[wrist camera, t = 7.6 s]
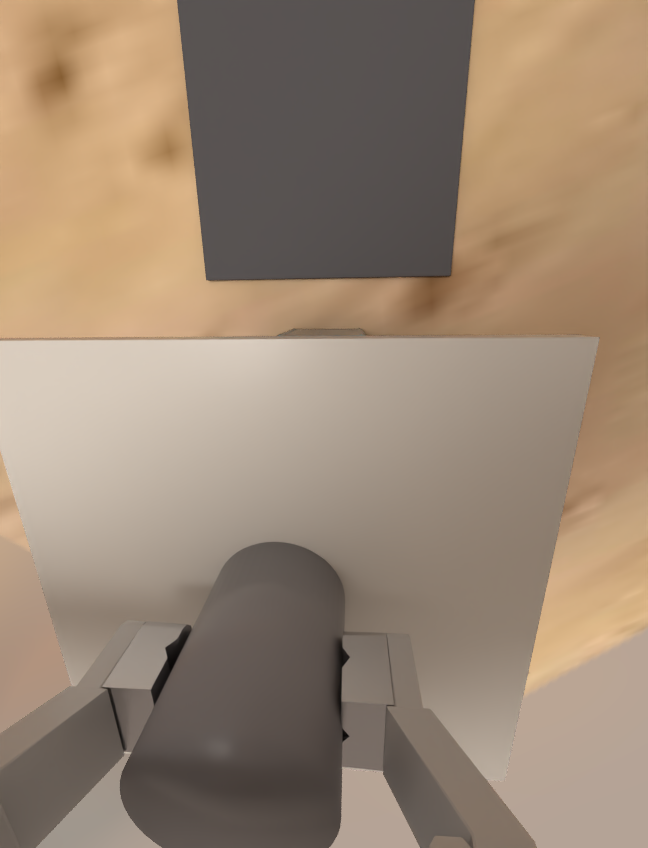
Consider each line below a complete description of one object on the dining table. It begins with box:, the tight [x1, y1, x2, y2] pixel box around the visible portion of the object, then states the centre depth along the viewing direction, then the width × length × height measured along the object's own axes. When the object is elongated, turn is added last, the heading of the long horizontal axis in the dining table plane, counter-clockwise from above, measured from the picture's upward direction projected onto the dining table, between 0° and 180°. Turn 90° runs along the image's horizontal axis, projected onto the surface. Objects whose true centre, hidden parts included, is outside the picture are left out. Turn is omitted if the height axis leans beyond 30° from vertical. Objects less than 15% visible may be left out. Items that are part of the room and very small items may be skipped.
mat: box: [177, 0, 475, 280], centre depth 23 cm, size 17×17×1 cm
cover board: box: [0, 334, 600, 848], centre depth 8 cm, size 14×14×5 cm
